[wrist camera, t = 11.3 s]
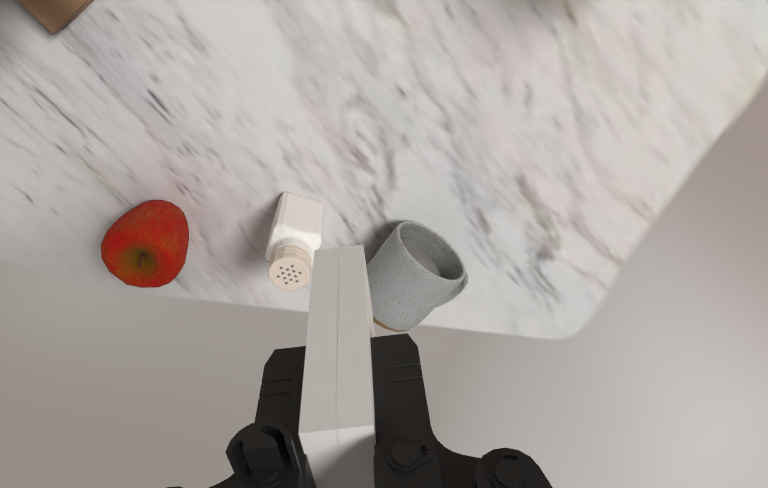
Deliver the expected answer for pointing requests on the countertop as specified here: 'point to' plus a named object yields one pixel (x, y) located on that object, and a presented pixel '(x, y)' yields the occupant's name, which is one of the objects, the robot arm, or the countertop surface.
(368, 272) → the ceramic mug
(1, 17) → the countertop surface
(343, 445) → the robot arm
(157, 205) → the apple
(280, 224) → the salt shaker
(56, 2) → the brown wooden board
